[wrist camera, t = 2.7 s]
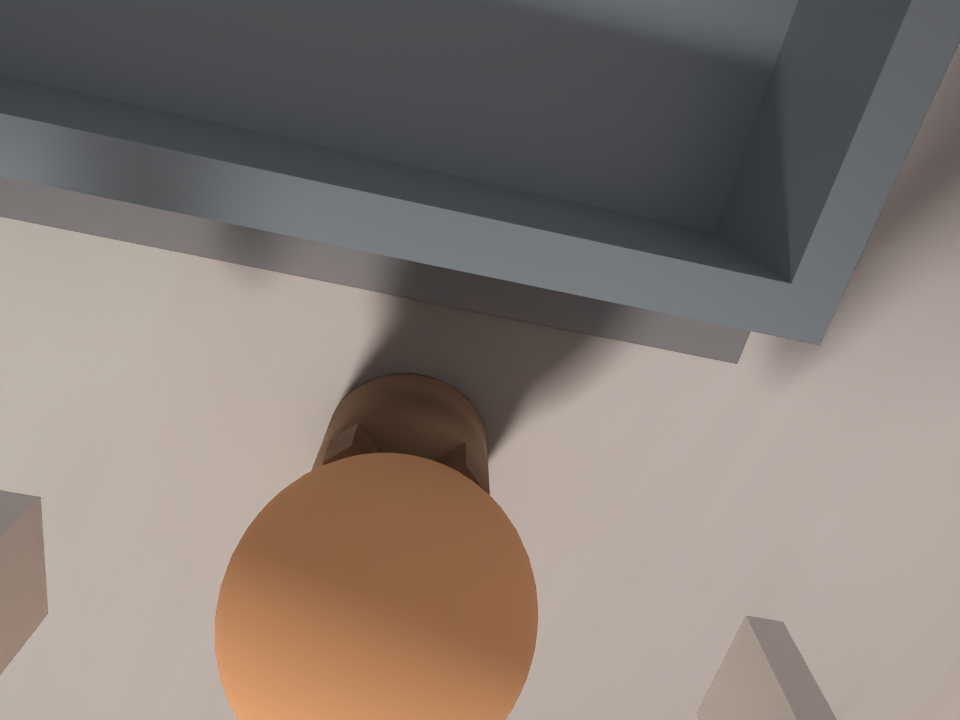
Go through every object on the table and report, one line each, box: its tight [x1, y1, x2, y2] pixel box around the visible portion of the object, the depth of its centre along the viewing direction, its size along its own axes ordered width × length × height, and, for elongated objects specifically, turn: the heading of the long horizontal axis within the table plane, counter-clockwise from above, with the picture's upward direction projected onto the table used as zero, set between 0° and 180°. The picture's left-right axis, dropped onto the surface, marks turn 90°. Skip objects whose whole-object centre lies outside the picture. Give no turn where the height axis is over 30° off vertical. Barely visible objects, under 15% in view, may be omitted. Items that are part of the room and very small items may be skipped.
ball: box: [215, 453, 538, 720], centre depth 13 cm, size 6×6×6 cm
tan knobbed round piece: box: [312, 374, 490, 495], centre depth 17 cm, size 4×4×3 cm
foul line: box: [0, 176, 750, 364], centre depth 16 cm, size 24×1×1 cm, turn 78°
